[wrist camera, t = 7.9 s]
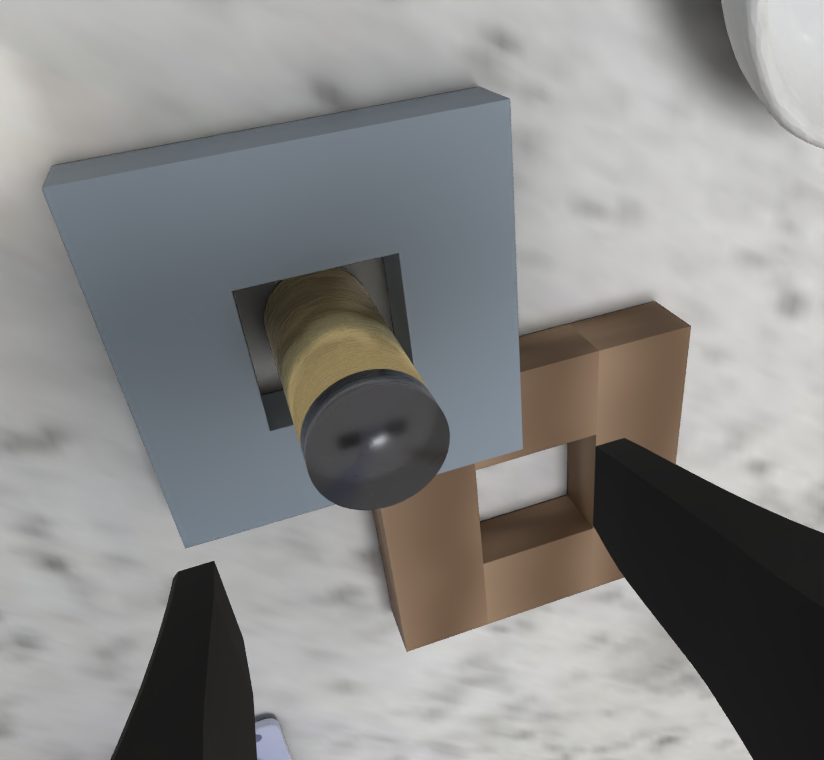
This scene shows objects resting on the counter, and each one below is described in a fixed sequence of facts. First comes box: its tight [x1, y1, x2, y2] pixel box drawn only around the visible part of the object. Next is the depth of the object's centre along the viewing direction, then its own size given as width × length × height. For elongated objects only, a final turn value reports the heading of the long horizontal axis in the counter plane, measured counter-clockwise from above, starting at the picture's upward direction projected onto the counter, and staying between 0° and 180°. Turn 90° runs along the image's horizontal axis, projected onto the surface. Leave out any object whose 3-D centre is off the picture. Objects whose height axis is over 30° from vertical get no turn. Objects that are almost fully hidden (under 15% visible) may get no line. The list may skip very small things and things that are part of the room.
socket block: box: [42, 87, 523, 548], centre depth 20 cm, size 11×11×2 cm
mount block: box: [373, 301, 691, 652], centre depth 26 cm, size 11×11×2 cm
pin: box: [264, 268, 450, 510], centre depth 18 cm, size 3×3×7 cm
